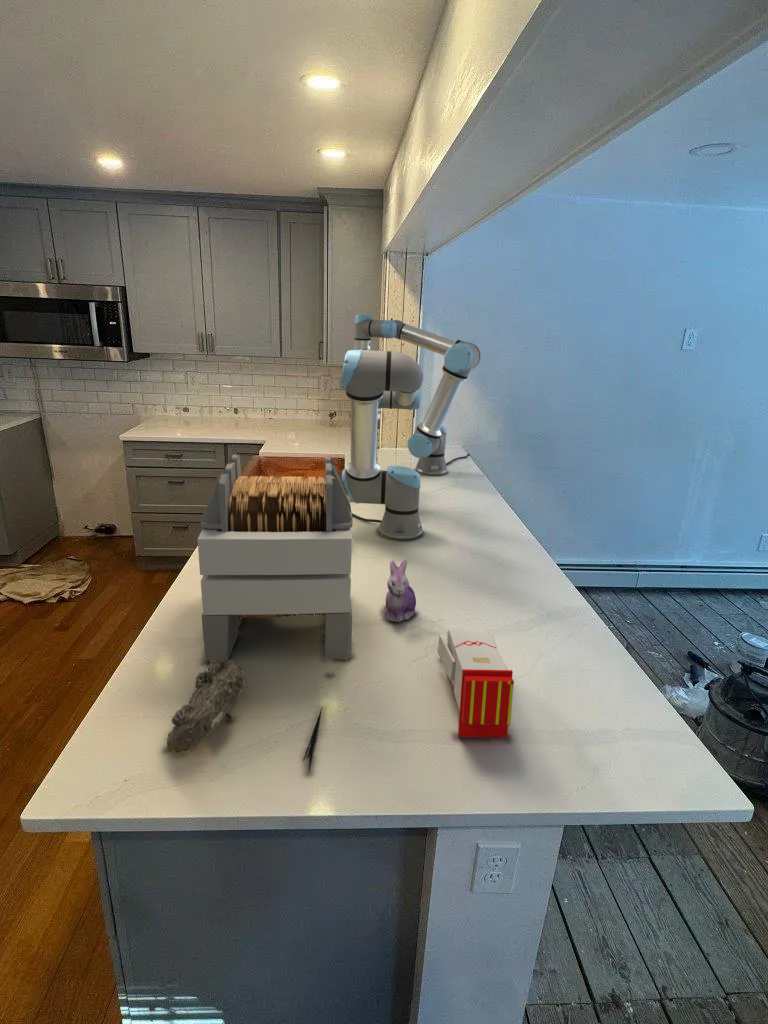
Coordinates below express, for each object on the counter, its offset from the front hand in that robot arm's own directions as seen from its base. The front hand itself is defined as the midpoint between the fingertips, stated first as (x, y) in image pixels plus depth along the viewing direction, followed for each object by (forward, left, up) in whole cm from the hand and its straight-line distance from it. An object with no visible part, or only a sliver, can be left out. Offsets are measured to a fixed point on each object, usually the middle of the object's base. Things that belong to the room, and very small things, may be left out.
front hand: (368, 476), depth 229 cm
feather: (+97, -90, -10) cm, 133 cm away
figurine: (+76, -51, -10) cm, 92 cm away
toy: (+109, -61, -10) cm, 125 cm away
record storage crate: (+62, -77, -10) cm, 100 cm away
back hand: (-42, +28, +24) cm, 56 cm away
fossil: (+84, -106, -10) cm, 135 cm away
